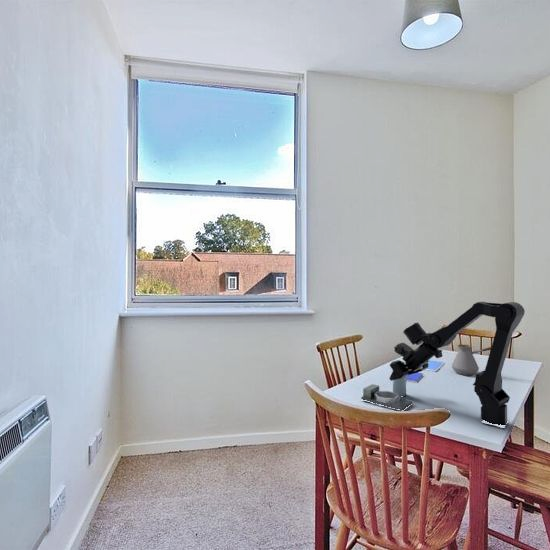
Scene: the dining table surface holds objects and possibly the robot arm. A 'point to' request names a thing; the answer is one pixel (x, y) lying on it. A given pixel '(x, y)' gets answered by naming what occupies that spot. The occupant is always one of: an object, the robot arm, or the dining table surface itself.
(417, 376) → the hard drive
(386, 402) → the motor mount
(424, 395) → the dining table surface
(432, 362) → the tablet computer
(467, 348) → the coffee pot
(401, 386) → the grey capped canister
